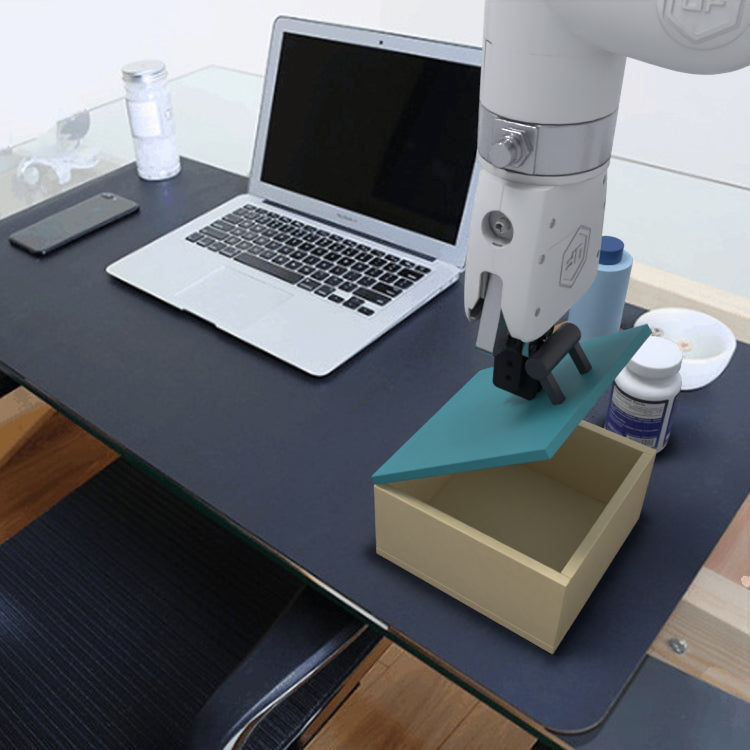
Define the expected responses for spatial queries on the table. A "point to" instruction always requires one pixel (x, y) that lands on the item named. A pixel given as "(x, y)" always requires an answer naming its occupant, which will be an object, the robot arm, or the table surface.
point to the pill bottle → (647, 394)
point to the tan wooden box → (520, 530)
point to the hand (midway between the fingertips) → (517, 386)
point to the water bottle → (604, 293)
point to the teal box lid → (516, 409)
